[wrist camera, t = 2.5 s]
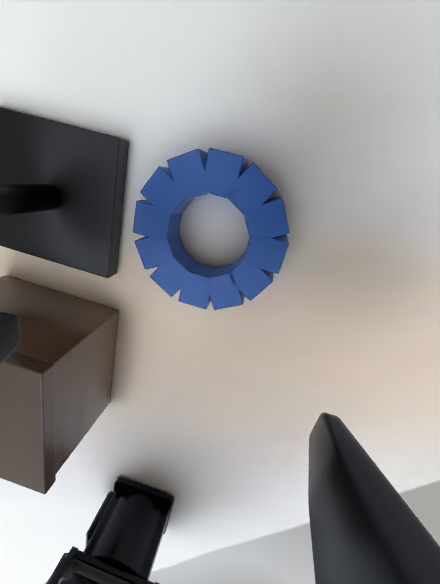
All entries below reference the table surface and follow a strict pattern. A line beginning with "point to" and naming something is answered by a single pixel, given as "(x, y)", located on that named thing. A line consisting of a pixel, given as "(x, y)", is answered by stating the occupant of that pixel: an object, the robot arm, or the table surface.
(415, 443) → the table surface
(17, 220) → the peg stand
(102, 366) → the box
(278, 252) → the ring
